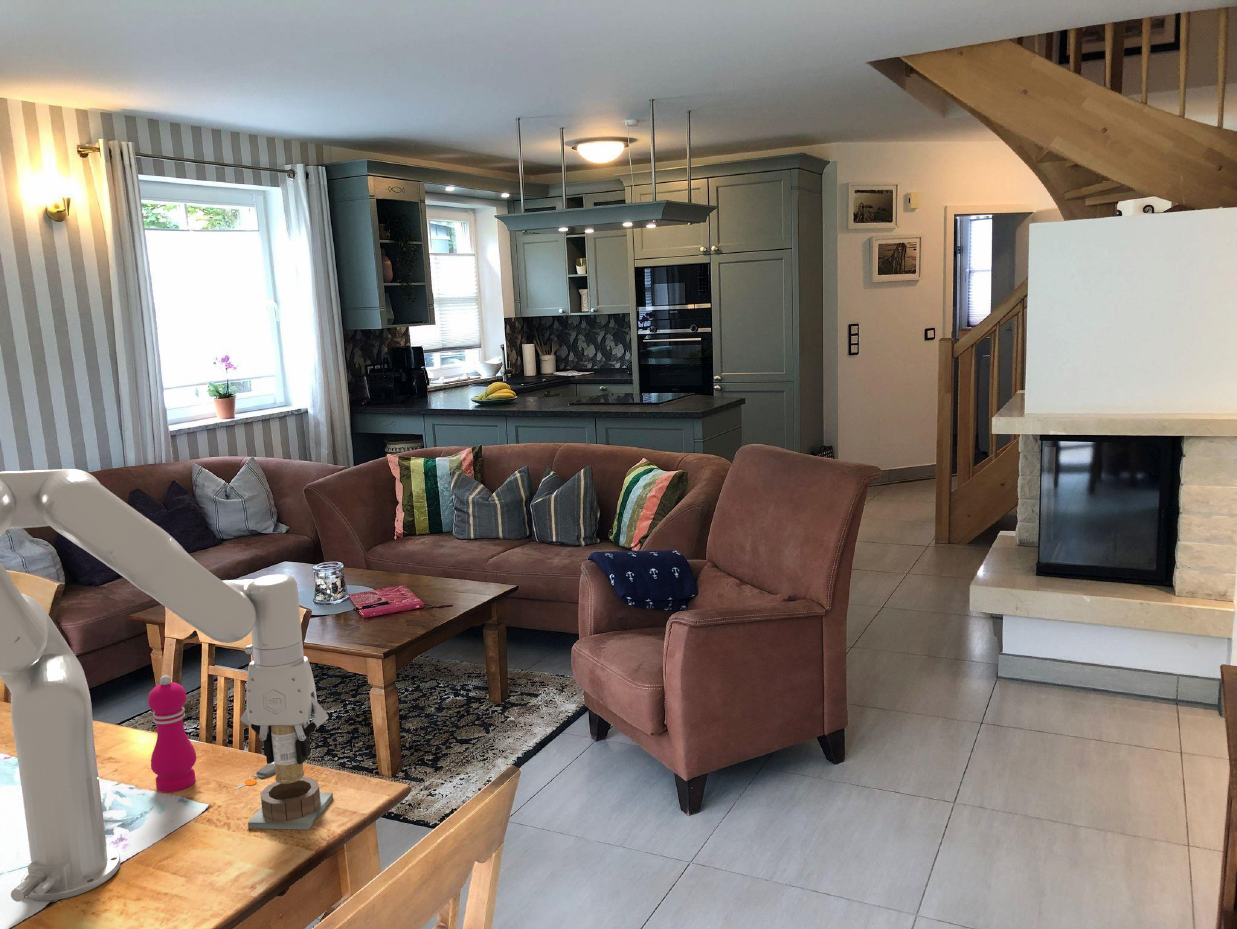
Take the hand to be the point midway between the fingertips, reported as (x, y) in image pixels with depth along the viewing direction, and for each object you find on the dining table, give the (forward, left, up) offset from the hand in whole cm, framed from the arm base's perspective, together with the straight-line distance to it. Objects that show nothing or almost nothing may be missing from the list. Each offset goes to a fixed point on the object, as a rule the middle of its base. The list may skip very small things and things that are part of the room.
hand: (288, 759), depth 154 cm
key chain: (+11, +11, -10) cm, 19 cm away
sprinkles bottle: (0, 0, -4) cm, 4 cm away
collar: (0, 0, -9) cm, 9 cm away
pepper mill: (+9, +25, -10) cm, 28 cm away
